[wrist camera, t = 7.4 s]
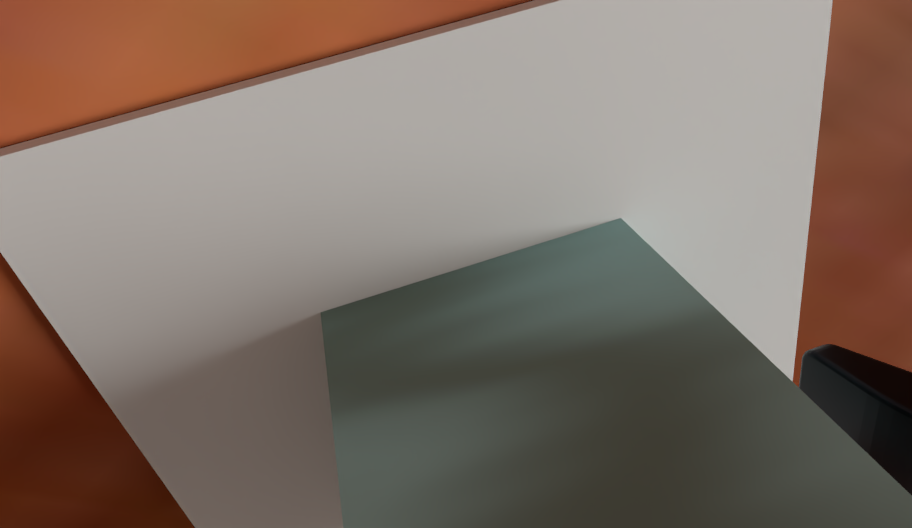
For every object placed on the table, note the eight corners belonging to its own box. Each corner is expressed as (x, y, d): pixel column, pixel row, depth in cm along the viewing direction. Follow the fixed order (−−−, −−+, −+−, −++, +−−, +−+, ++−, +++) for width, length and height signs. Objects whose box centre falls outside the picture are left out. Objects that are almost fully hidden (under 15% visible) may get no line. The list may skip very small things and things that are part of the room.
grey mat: (288, 642, 14) (289, 661, 14) (-43, 160, 8) (-56, 172, 8) (771, 467, 16) (781, 480, 15) (819, -80, 9) (841, -79, 9)
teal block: (401, 511, 13) (484, 925, 8) (320, 312, 10) (367, 750, 5) (637, 428, 13) (863, 768, 8) (620, 218, 10) (947, 528, 5)
